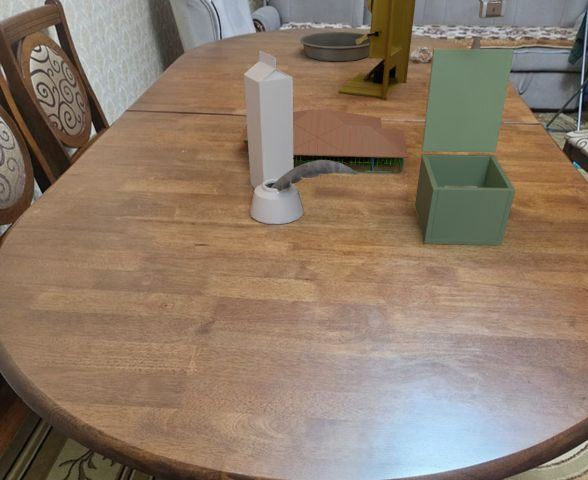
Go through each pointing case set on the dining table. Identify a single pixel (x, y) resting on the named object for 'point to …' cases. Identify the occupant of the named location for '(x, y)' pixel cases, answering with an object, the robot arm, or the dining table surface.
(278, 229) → the dining table surface
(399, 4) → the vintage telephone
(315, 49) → the cake pan
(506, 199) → the chest
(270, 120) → the milk
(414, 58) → the beige rough lump
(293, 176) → the inkwell
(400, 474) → the dining table surface
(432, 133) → the lid
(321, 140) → the house
